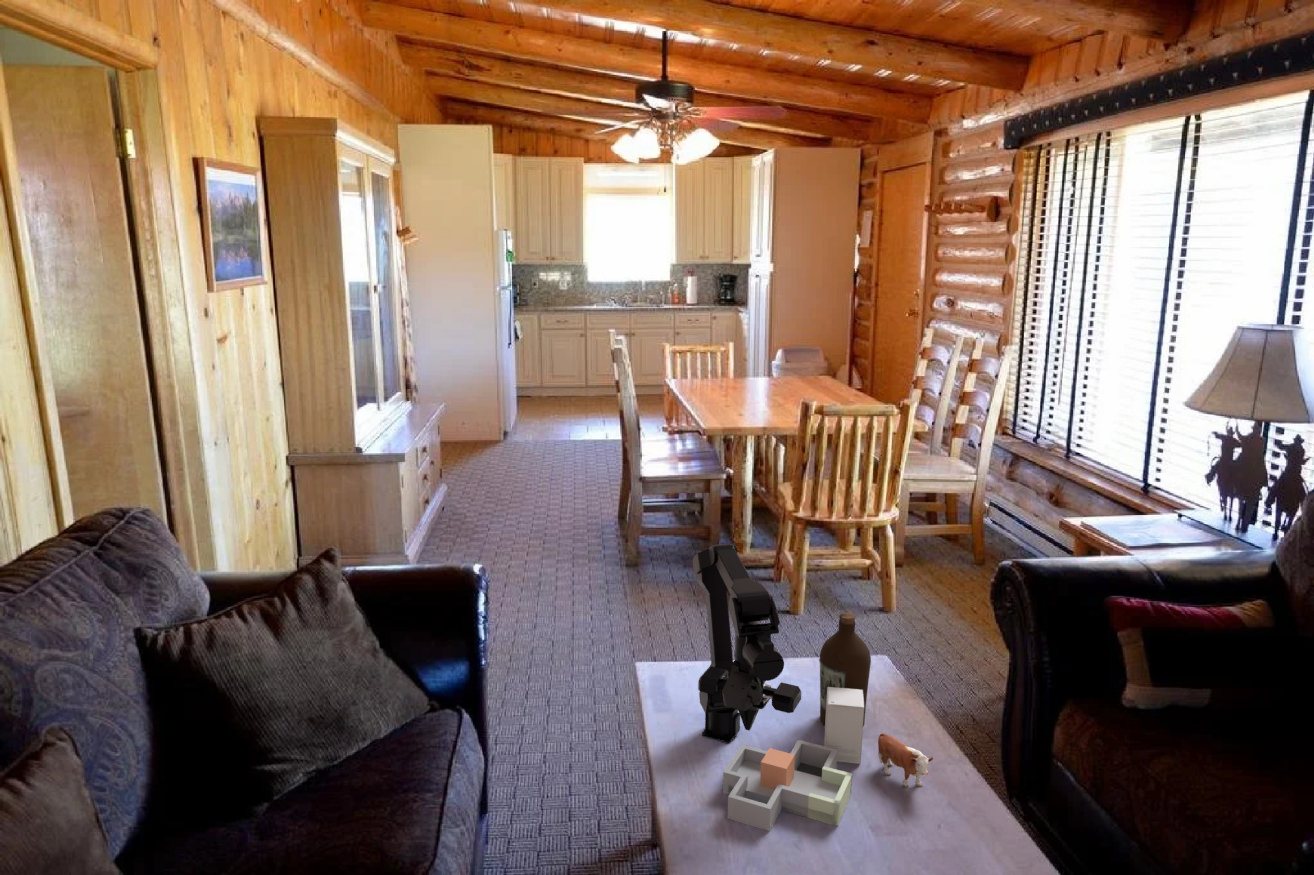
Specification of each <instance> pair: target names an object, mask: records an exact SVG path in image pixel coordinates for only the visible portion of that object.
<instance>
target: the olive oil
mask: <svg viewBox="0 0 1314 875" xmlns="http://www.w3.org/2000/svg"><path fill="white" fill-rule="evenodd" d="M855 619H856V616H855V613H854V614H853V613H851V612H842V613H840V614H839V619H838V630H837V631H836V632H835V633H834V634H832V635H831V636H830V637H828V638H827V639H826V640H825V642H823V644H822V647H821V649H820V652H819V658H818V660H819V688H820V689H819V693H820V694H819V697H820V698H819V701H820V704H819V705H820V708H819V720H820V723H821V725H822V726H823V727H824V728H825V719H826V700H827V687H836V688H849V689H859V690H863V697H864V717H863V728H864V727H865V721H866V720H865V719H866V710H867V709H866V707H867V701H868V700H867V699H868V698H867V697H868V689H869V682H870V680H869V679H870V673H871V666H872V665H871V664H872V658H871V653H870V650H869V647H868V645H867V644H866V643H865V642H864V640H863V639H862V638H861V637H860V636H859V635H858V634H857V633H856V632H855V630H856V620H855Z"/></svg>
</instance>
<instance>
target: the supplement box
mask: <svg viewBox="0 0 1314 875" xmlns="http://www.w3.org/2000/svg"><path fill="white" fill-rule="evenodd" d="M863 717H864V697H863V690H859V689H849V688H836V687H827V700H826V719H825V727H824V740H823V746H825V747H829V748H833V749H837V750H838V752H837V763H838V762H840V763H845V764H846V763H849V764H857V765H858V764H862V751H863V749H862V747H863V730H864V729H863V728H864V727H863Z"/></svg>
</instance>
